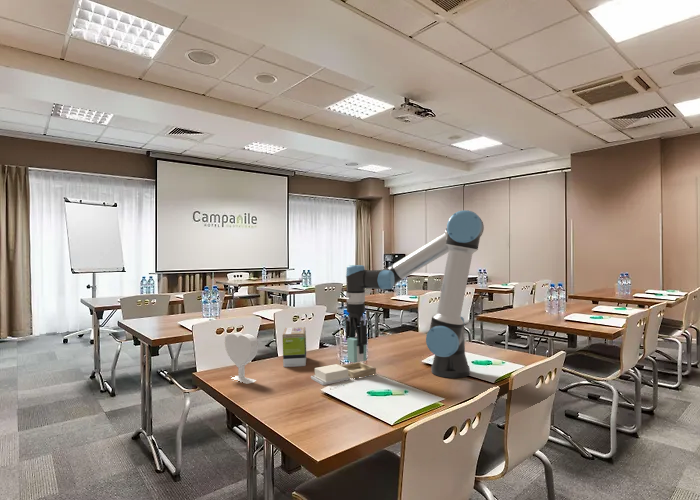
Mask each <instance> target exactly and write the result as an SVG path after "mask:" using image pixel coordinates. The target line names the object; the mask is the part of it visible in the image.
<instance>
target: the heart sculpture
mask: <svg viewBox="0 0 700 500" xmlns="http://www.w3.org/2000/svg"><path fill="white" fill-rule="evenodd" d="M258 341H259V340H258V339H257V337H256V336H255V335H252V334H250V333H245V334H244V333H242V332H235V333H230V334H227V335H226V336H225V337H224V348H225V351H226V354H227V356H228V358H229V359H230V360H231V362H232V363H233V364H234V365H235V366H236V367H237V368H238V370H237V371H238V372H237V373H238V375H234V376H235V377H232V376H231V377H232V378H231V379H234V380H238V381H240V382H239V383H242V382H243V383H242V384H247V385H248V384H253V383H255V382H256V381H257V379H253V378H249V377H246V376H245V374H246V373H245V367H246V365H248V364H249V363H250V362H252V360H254V358H255V357H256V355H257V353H258V347H259V342H258ZM234 380H233V381H234ZM238 381H237V382H238Z"/></svg>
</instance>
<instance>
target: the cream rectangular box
mask: <svg viewBox="0 0 700 500" xmlns="http://www.w3.org/2000/svg"><path fill="white" fill-rule="evenodd" d="M310 379H311V380H312V381H314V382H316V383H318V384H320V385H321V386H327V385H331V384H336V383H340V381H341V382H345V381H344V380H346V381H349V380H348V379H350V380H351V378H350V377H349V376H348V369H347V368H344V367H342V365H340V364H337V363H335V364H330V365H329V364H328V365H325V366H319V367H314V374H313V375H310Z"/></svg>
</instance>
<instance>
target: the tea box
mask: <svg viewBox="0 0 700 500" xmlns="http://www.w3.org/2000/svg"><path fill="white" fill-rule="evenodd" d="M306 333H307V331H306V327H305V326H302V327H285V328H284V330H283V332H282V363H283V367H284V368H291V367H292V368H293V367H295V368H296V367H306V365H307V364H306V363H307V335H306Z"/></svg>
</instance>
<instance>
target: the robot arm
mask: <svg viewBox="0 0 700 500" xmlns="http://www.w3.org/2000/svg"><path fill="white" fill-rule="evenodd" d="M484 226H485V225H484V221H483V220H482V219H481V217H480V216H479V215H478V214H477V213H476V212H474V211H472V210H465V209H463V210H458V211H456V212H455V213H453V214H452V215H451V216H450V217H449V219H447V224H446V228H445V229H444V232H443V233H441V234H440V235H438V236H437V237H435V238H434V239H432V240H430V241H429V242H427V243H425V244H423V245H421V247H419V248H417V249H416V250H414V251H412V252H411V253H409V254H407V255H406V256H404V257H402V258H400V259H399V260H398V261H396V262H394V263H393V264H392V265H390V266H387V267H386V268H384V269H374V270H373V269H371V270H370V269H369V270H368V269H366V268H365V265H362V264H353V265H350V264H349V265H347V267H346V273H345V274H346V275H345V278H346V313H348V316H344V320H345V341H347V338H352V337H357V341H358V345H357V362H356V363H358V362H361V363H363V362H365V361H364V345H366V346H367V345H368V324H369V323H368V319H365V318H364V315H363V314H364V313H365V312H366V304H365V303H366V290H367V289H369V290H371V289H372V290H373V289H374V290H391V289H393V288H394V286H395V285H396V284H398V283H399V282H400V281H402V280H403V279H405V278H407V277H408V276H410V275H412V274H414V273H415V272H417V271H419V270H421V269H422V268H423V267H425V266H428V265H429V264H430V263H433V262H434V261H436V260H438V259H439V258H441V257H442V256H444V255H445V254H447V257H446V258H447V259H446V264H445V267H444V268H445V269H444V274H443V279H442V284H441V289H440V295H439V301H438V305H437V311H436V312H435V313H433V314H432V315H431V321H430V324H429V325H430V326H429V330H428V331H427V333H426V336H425V343H426V346H427V349H428V350H429V351H430V352H431V353H432V354H433V355H434V357H433V360H432V364H431V368H430V369H431V371H430V372H431V373H432V374H433V375H434V376H437V377H440V378H449V379H460V378H466V377H468V376H470V375H469V374H471V369H470V365H469V364H468V360H467V359H468V358H467V357H466V350H465V349H466V345H465V344H466V343H465V335H466V334H465V325H466V323H465V318H464V317H463V316H461V315H462V311H463V305H464V300H465V296H466V295H465V294H466V289H467V285H468V278H469V274H470V269H471V264H472V258H473V255H474V253H476V252H477V251H478V250H479V245H480V240H481V237H482V236H483V234H484V230H485V227H484Z"/></svg>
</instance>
